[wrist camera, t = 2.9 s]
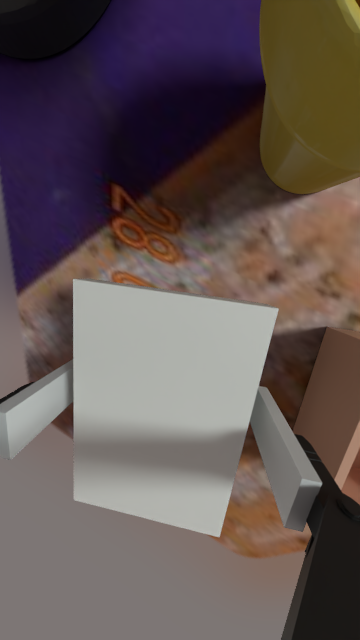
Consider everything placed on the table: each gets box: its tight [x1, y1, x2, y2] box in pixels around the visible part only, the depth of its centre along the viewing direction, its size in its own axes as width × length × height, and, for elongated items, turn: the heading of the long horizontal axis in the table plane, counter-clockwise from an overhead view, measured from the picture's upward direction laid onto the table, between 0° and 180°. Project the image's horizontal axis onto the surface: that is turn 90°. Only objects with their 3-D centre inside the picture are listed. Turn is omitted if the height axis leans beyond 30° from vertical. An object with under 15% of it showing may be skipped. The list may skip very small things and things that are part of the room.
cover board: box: [73, 279, 278, 537], centre depth 11 cm, size 15×10×2 cm, turn 172°
